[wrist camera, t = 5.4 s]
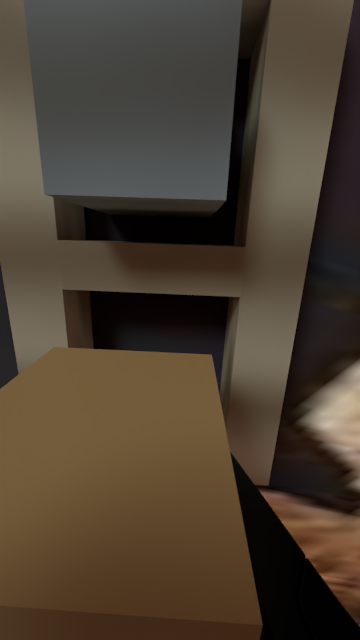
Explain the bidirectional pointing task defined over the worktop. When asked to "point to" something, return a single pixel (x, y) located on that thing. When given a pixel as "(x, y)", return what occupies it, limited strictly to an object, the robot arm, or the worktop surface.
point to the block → (120, 502)
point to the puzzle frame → (167, 172)
